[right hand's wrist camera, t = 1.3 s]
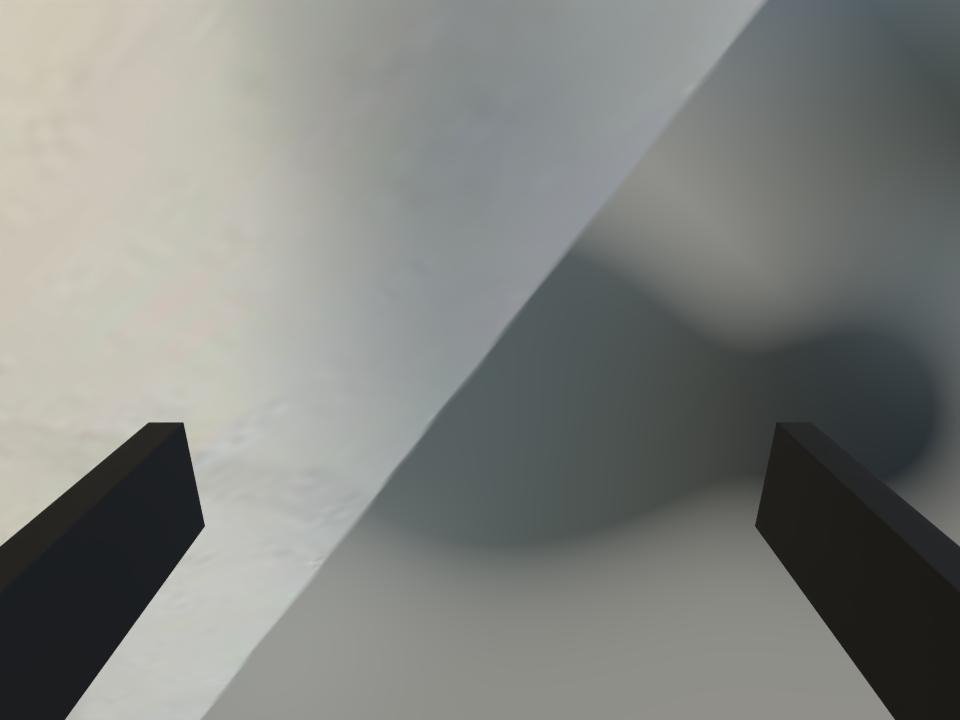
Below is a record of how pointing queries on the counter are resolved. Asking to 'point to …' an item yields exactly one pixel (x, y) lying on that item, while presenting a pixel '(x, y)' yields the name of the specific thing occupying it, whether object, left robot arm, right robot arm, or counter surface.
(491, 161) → the counter surface
